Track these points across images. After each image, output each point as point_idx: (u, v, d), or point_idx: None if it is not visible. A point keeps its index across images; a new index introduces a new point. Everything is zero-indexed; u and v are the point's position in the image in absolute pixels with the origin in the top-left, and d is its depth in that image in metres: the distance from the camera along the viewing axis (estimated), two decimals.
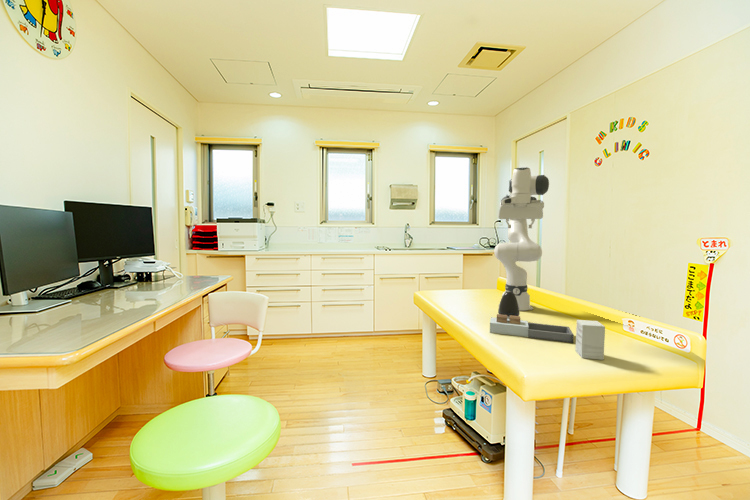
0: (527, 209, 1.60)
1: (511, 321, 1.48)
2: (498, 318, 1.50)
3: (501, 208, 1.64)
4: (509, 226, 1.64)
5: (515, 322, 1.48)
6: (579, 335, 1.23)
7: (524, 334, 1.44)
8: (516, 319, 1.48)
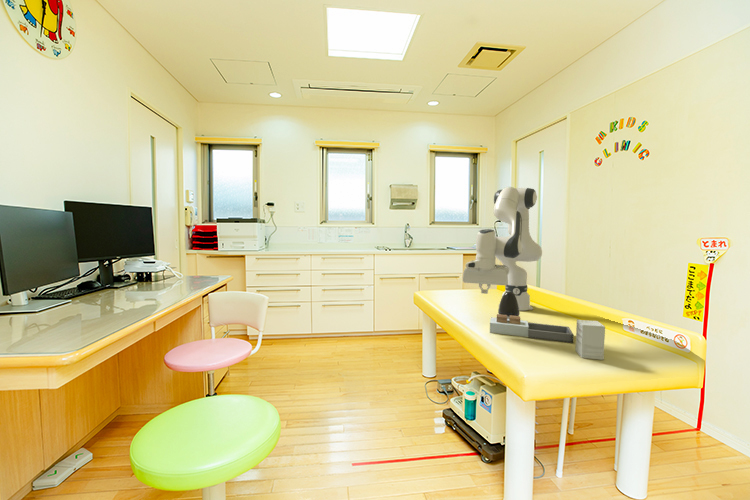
0: (491, 274, 1.51)
1: (511, 321, 1.48)
2: (498, 318, 1.50)
3: (465, 272, 1.54)
4: (482, 291, 1.53)
5: (515, 322, 1.48)
6: (579, 335, 1.23)
7: (524, 334, 1.44)
8: (516, 319, 1.48)
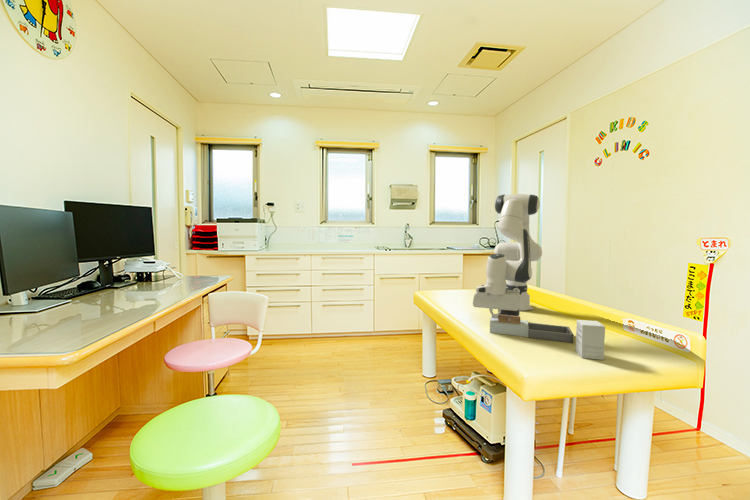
0: (502, 299, 1.50)
1: (511, 321, 1.48)
2: (500, 318, 1.50)
3: (475, 296, 1.54)
4: (493, 316, 1.53)
5: (515, 322, 1.48)
6: (579, 335, 1.23)
7: (524, 334, 1.44)
8: (516, 319, 1.48)
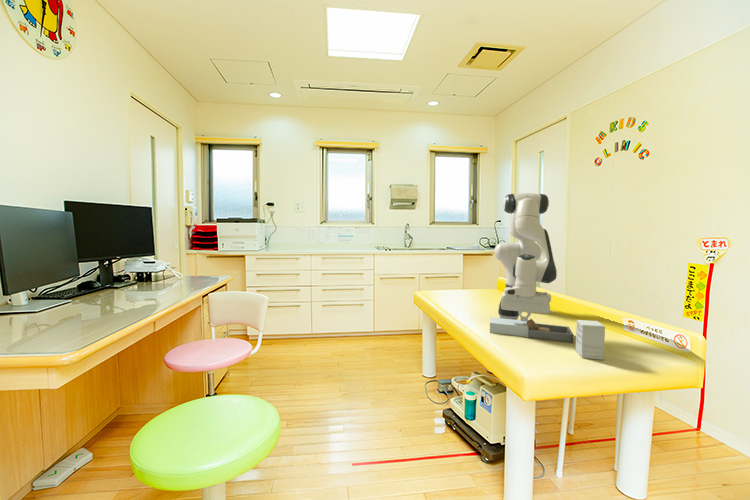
0: (532, 302, 1.45)
1: None
2: (531, 323, 1.45)
3: (504, 298, 1.49)
4: (522, 319, 1.48)
5: None
6: (579, 335, 1.23)
7: (524, 334, 1.44)
8: None
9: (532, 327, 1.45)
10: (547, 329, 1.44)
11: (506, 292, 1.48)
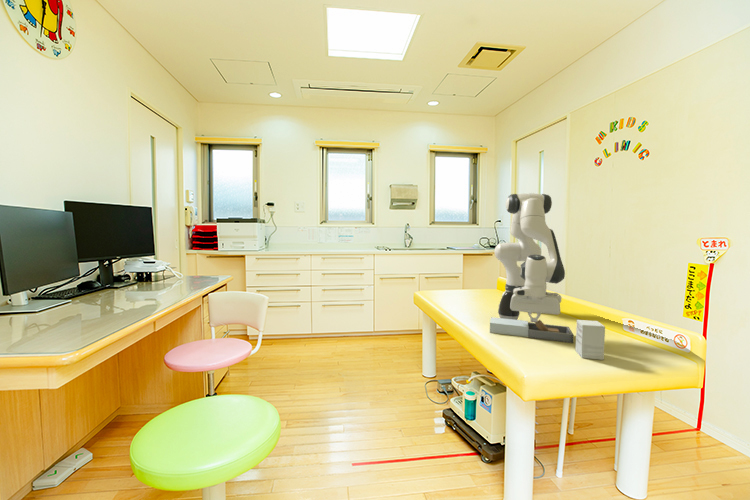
0: (542, 303, 1.44)
1: None
2: (540, 324, 1.44)
3: (513, 299, 1.47)
4: (532, 320, 1.46)
5: None
6: (579, 335, 1.23)
7: (524, 334, 1.44)
8: None
9: (541, 328, 1.44)
10: (556, 330, 1.43)
11: (516, 293, 1.46)
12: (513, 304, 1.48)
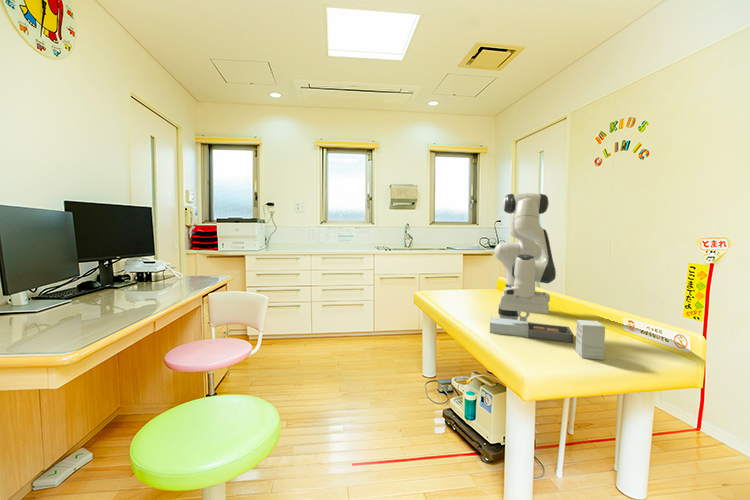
0: (531, 302, 1.45)
1: None
2: None
3: (503, 299, 1.49)
4: (521, 319, 1.48)
5: None
6: (579, 335, 1.23)
7: (524, 334, 1.44)
8: None
9: None
10: (556, 330, 1.43)
11: (505, 292, 1.48)
12: (503, 303, 1.49)
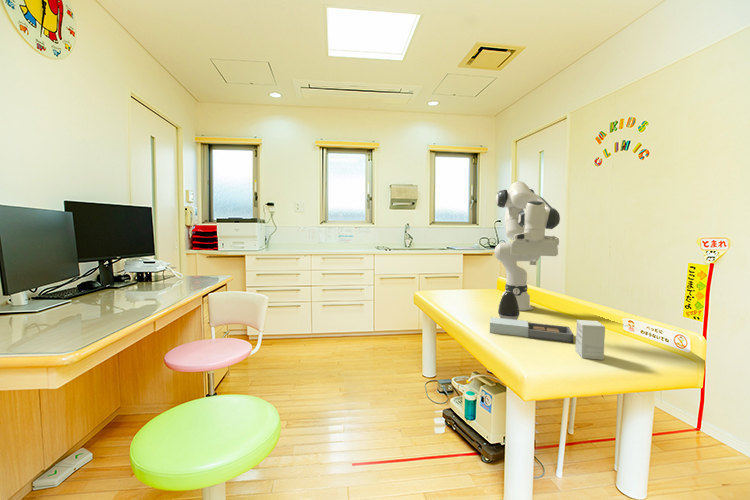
0: (541, 245, 1.52)
1: None
2: None
3: (513, 243, 1.56)
4: (531, 263, 1.55)
5: None
6: (579, 335, 1.23)
7: (524, 334, 1.44)
8: None
9: None
10: (556, 330, 1.43)
11: (516, 237, 1.54)
12: (513, 248, 1.56)
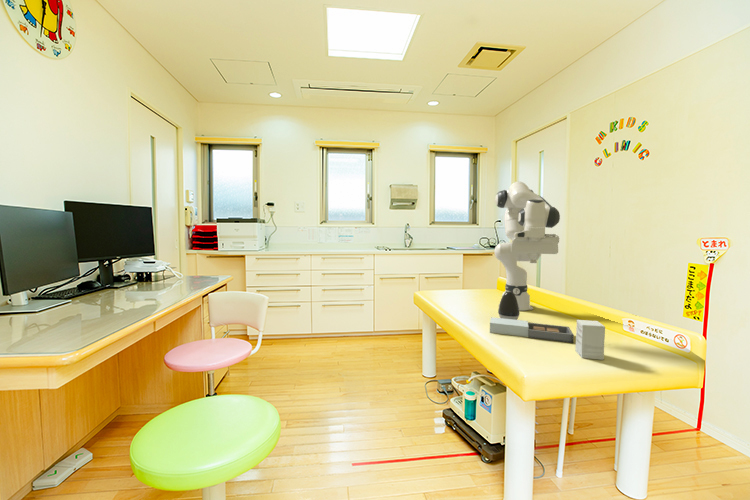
0: (541, 244, 1.52)
1: None
2: None
3: (514, 242, 1.56)
4: (531, 261, 1.55)
5: None
6: (579, 335, 1.23)
7: (524, 334, 1.44)
8: None
9: None
10: (556, 330, 1.43)
11: (516, 235, 1.55)
12: (514, 246, 1.56)
